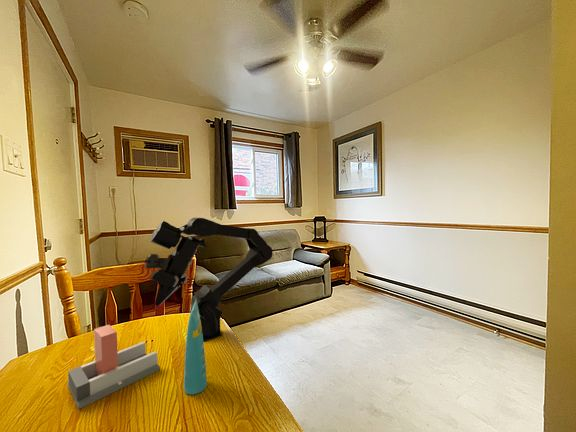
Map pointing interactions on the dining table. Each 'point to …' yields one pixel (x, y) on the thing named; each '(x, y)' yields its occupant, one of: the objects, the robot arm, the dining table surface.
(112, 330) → the plug
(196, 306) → the tube
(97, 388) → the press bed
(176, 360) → the dining table surface
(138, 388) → the dining table surface
